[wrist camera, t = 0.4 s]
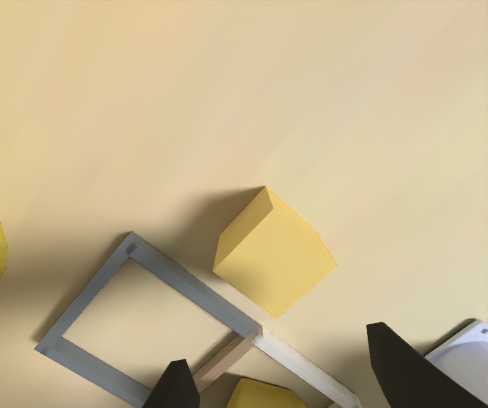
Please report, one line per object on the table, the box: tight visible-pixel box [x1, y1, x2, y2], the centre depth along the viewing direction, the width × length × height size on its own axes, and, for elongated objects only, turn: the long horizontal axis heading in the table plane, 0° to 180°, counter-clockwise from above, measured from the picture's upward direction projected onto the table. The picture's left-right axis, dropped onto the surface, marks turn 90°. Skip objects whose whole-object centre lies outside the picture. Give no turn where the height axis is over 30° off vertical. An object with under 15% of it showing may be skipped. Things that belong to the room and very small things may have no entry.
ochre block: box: [213, 186, 338, 319], centre depth 17 cm, size 5×5×5 cm
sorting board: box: [34, 231, 362, 408], centre depth 23 cm, size 25×13×1 cm, turn 48°
